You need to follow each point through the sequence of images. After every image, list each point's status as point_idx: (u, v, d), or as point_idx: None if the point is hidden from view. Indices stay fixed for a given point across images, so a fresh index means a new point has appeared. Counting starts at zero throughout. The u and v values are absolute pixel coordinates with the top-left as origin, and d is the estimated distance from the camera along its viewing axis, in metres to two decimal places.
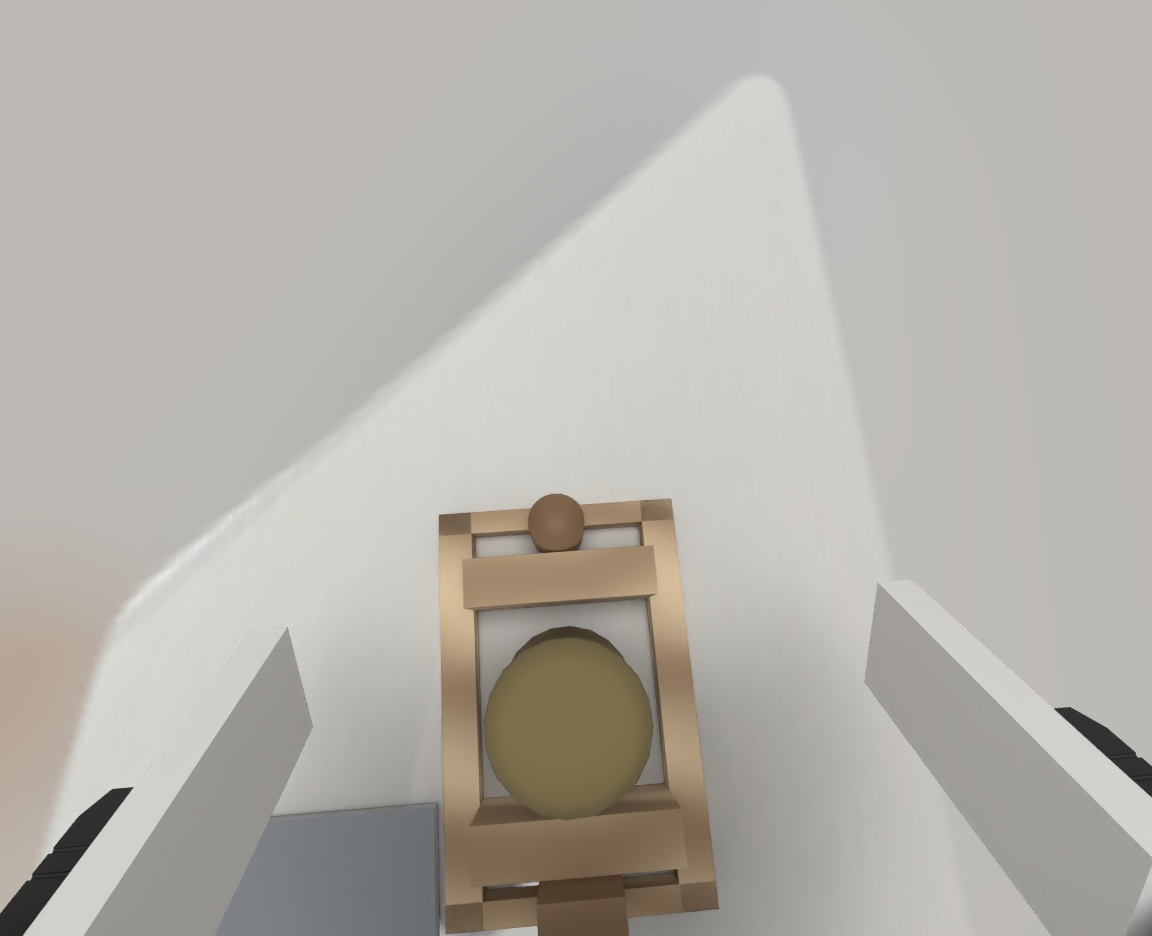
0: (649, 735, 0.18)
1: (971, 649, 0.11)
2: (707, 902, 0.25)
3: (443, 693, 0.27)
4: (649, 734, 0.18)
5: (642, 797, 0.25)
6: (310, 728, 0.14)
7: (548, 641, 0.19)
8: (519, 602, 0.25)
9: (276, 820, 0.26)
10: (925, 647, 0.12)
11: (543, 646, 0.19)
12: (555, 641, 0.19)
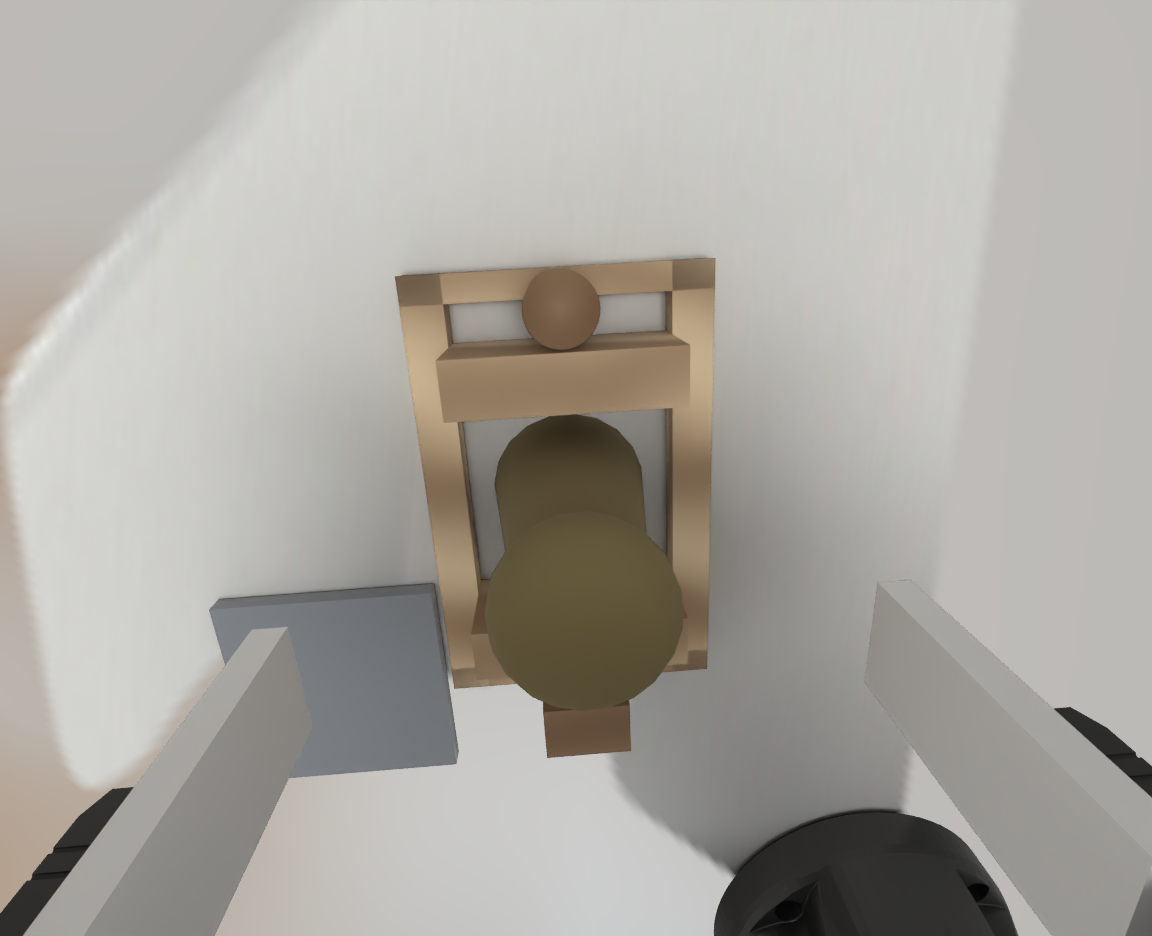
0: (680, 634, 0.16)
1: (971, 649, 0.11)
2: (697, 664, 0.27)
3: (428, 493, 0.23)
4: (680, 634, 0.16)
5: None
6: (310, 728, 0.14)
7: (561, 531, 0.15)
8: (514, 416, 0.20)
9: (268, 603, 0.25)
10: (925, 647, 0.12)
11: (556, 543, 0.15)
12: (570, 533, 0.15)
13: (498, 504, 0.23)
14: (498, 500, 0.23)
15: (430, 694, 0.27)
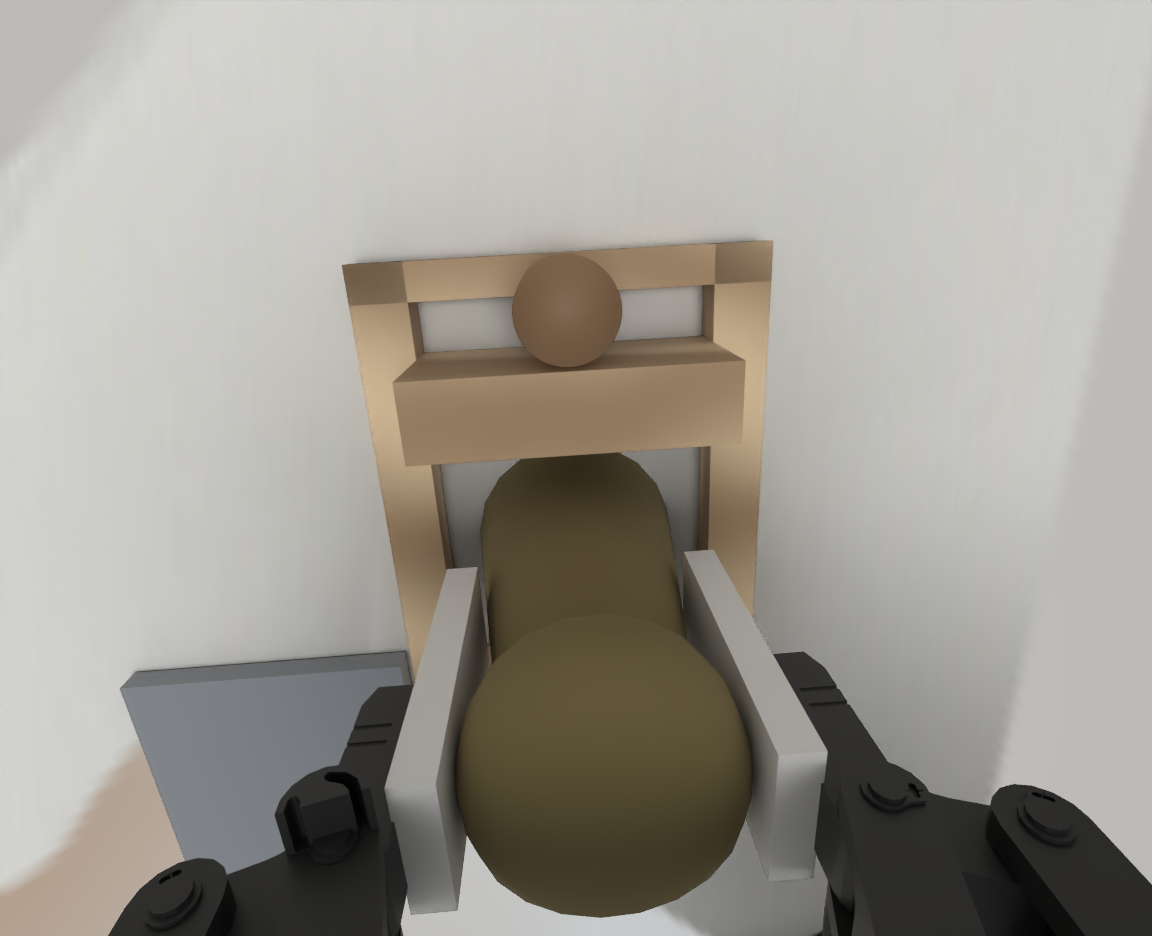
0: (748, 807, 0.10)
1: (730, 604, 0.13)
2: None
3: (393, 546, 0.18)
4: (748, 807, 0.10)
5: None
6: (488, 658, 0.16)
7: (570, 660, 0.10)
8: (502, 457, 0.14)
9: (196, 679, 0.20)
10: (702, 604, 0.14)
11: (562, 682, 0.09)
12: (584, 664, 0.10)
13: (483, 564, 0.17)
14: (483, 558, 0.17)
15: None
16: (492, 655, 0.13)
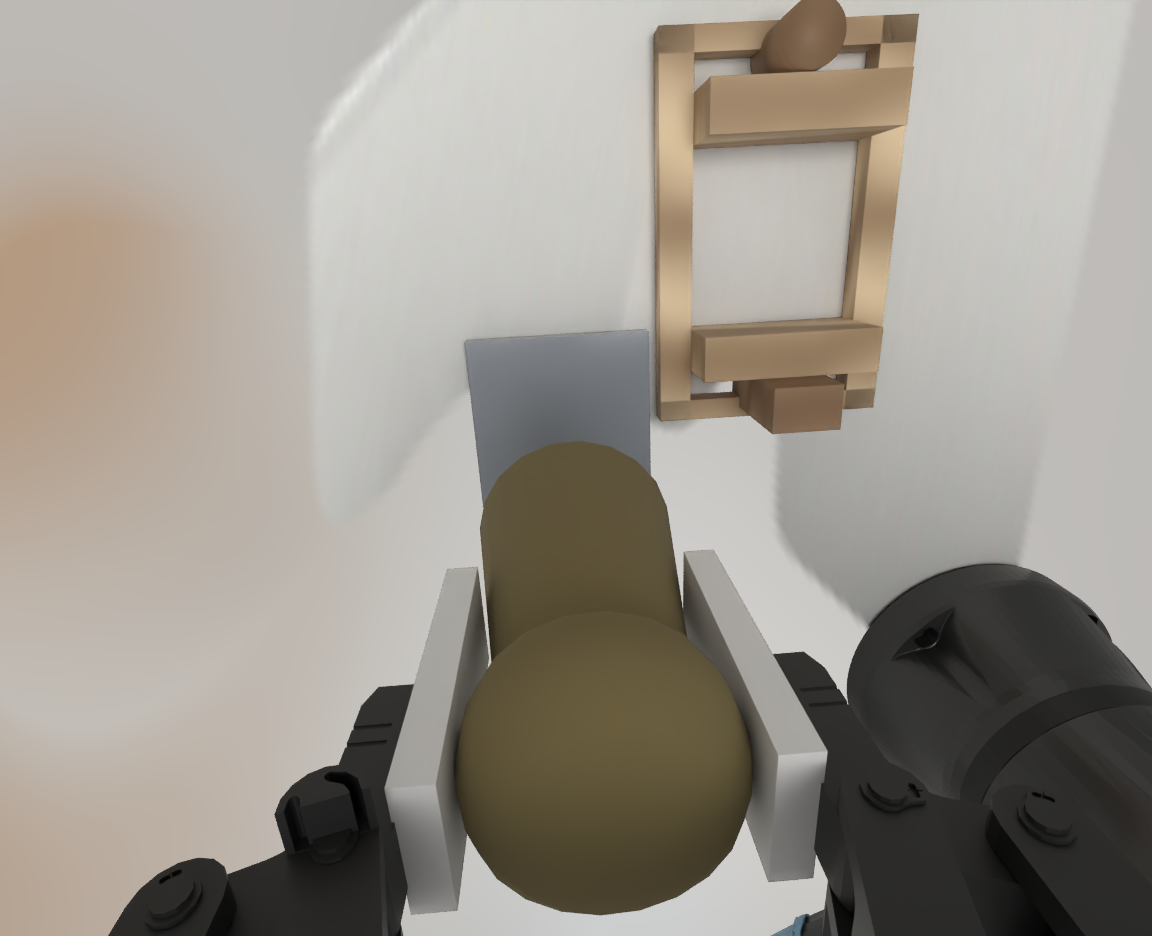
0: (748, 804, 0.10)
1: (730, 604, 0.13)
2: (865, 402, 0.32)
3: (661, 230, 0.28)
4: None
5: (835, 323, 0.29)
6: (487, 658, 0.16)
7: (570, 657, 0.10)
8: (766, 130, 0.24)
9: (513, 339, 0.30)
10: (702, 604, 0.14)
11: (561, 679, 0.09)
12: (584, 661, 0.10)
13: (483, 562, 0.17)
14: (483, 556, 0.17)
15: (637, 430, 0.32)
16: (492, 653, 0.13)
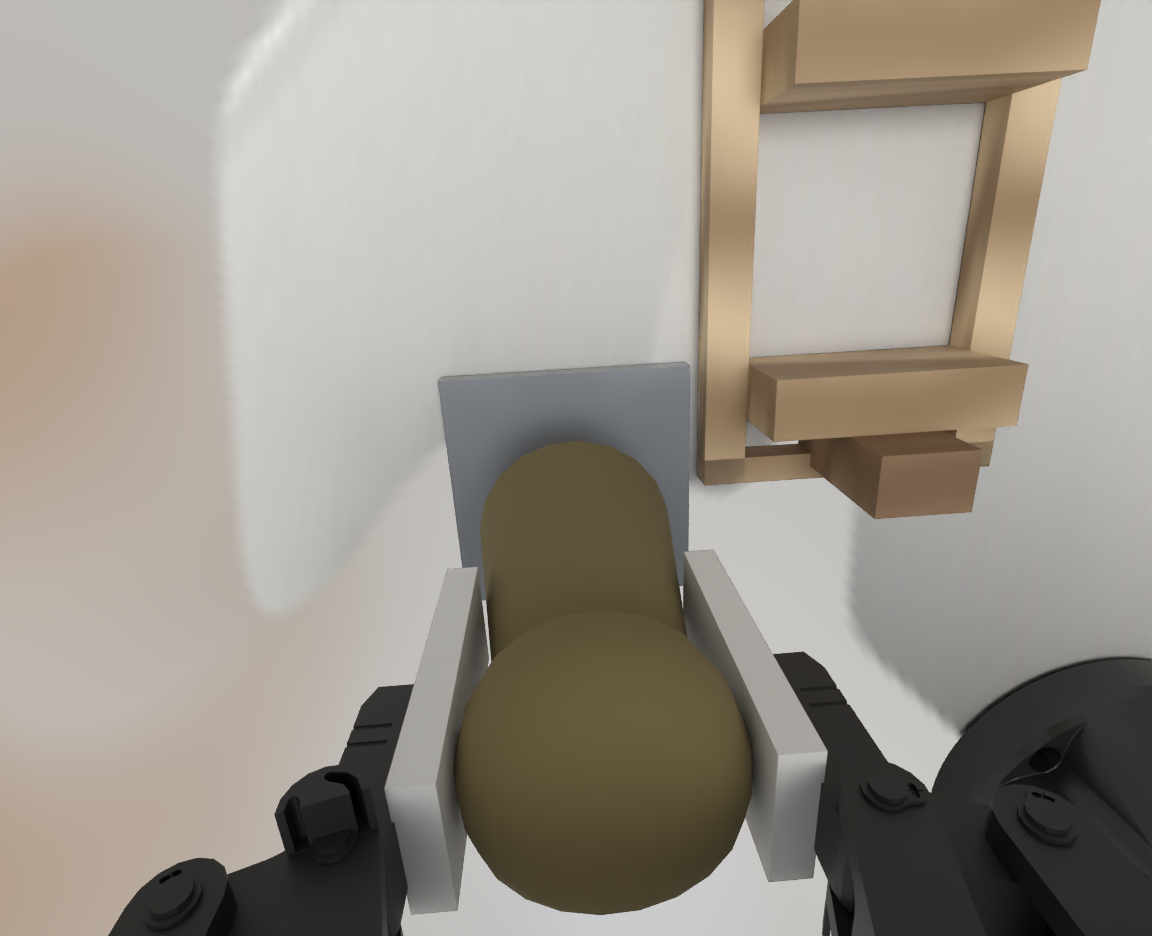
0: (748, 804, 0.10)
1: (730, 604, 0.13)
2: None
3: (711, 228, 0.20)
4: None
5: (949, 356, 0.21)
6: (487, 658, 0.16)
7: (570, 656, 0.10)
8: (879, 76, 0.16)
9: (504, 376, 0.22)
10: (702, 604, 0.14)
11: (561, 679, 0.09)
12: (584, 660, 0.10)
13: (483, 562, 0.17)
14: (483, 556, 0.17)
15: (671, 496, 0.24)
16: (492, 652, 0.13)
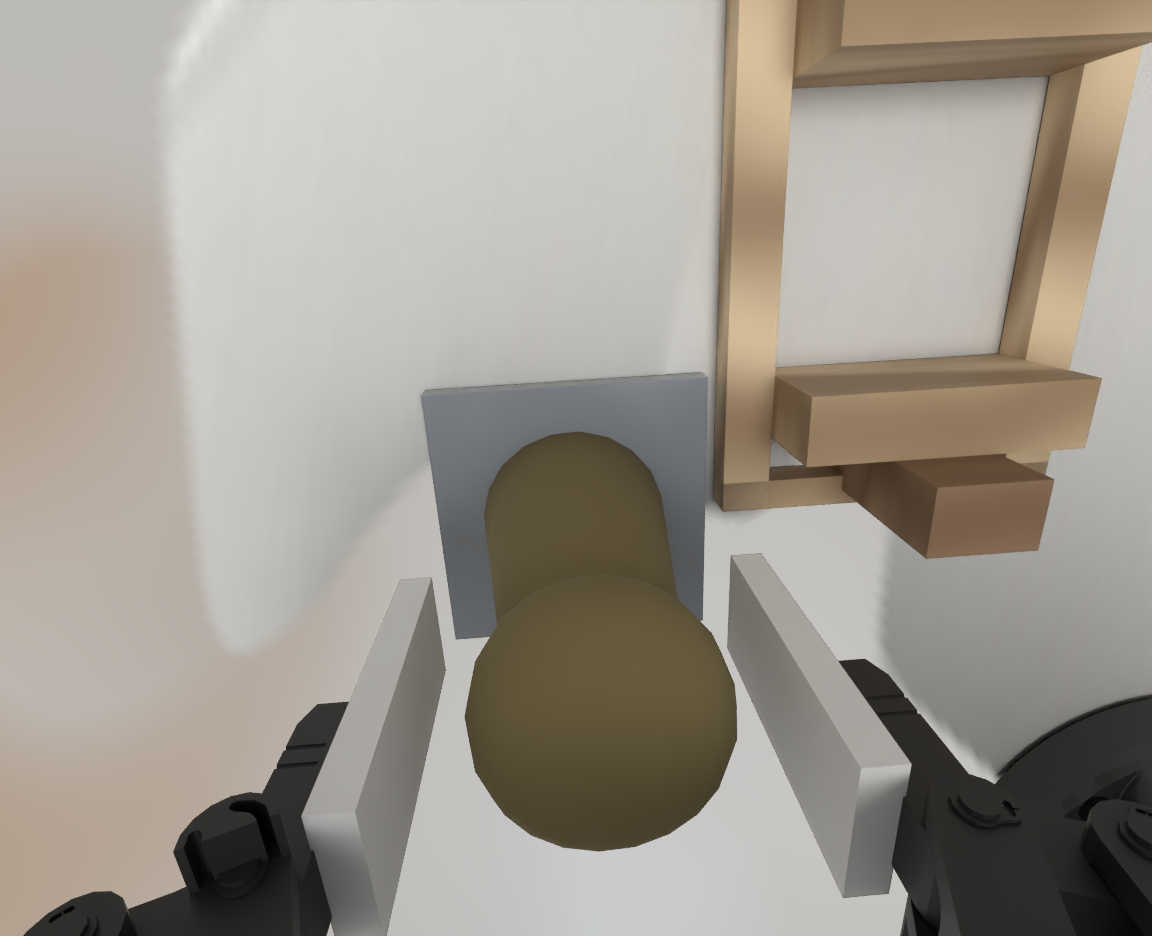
0: None
1: (787, 610, 0.13)
2: None
3: (734, 220, 0.17)
4: None
5: (1004, 367, 0.19)
6: (444, 670, 0.16)
7: (571, 610, 0.11)
8: (941, 38, 0.14)
9: (497, 390, 0.19)
10: (755, 610, 0.13)
11: (564, 628, 0.10)
12: (584, 613, 0.11)
13: (488, 544, 0.18)
14: (488, 539, 0.18)
15: (685, 523, 0.21)
16: (498, 621, 0.14)
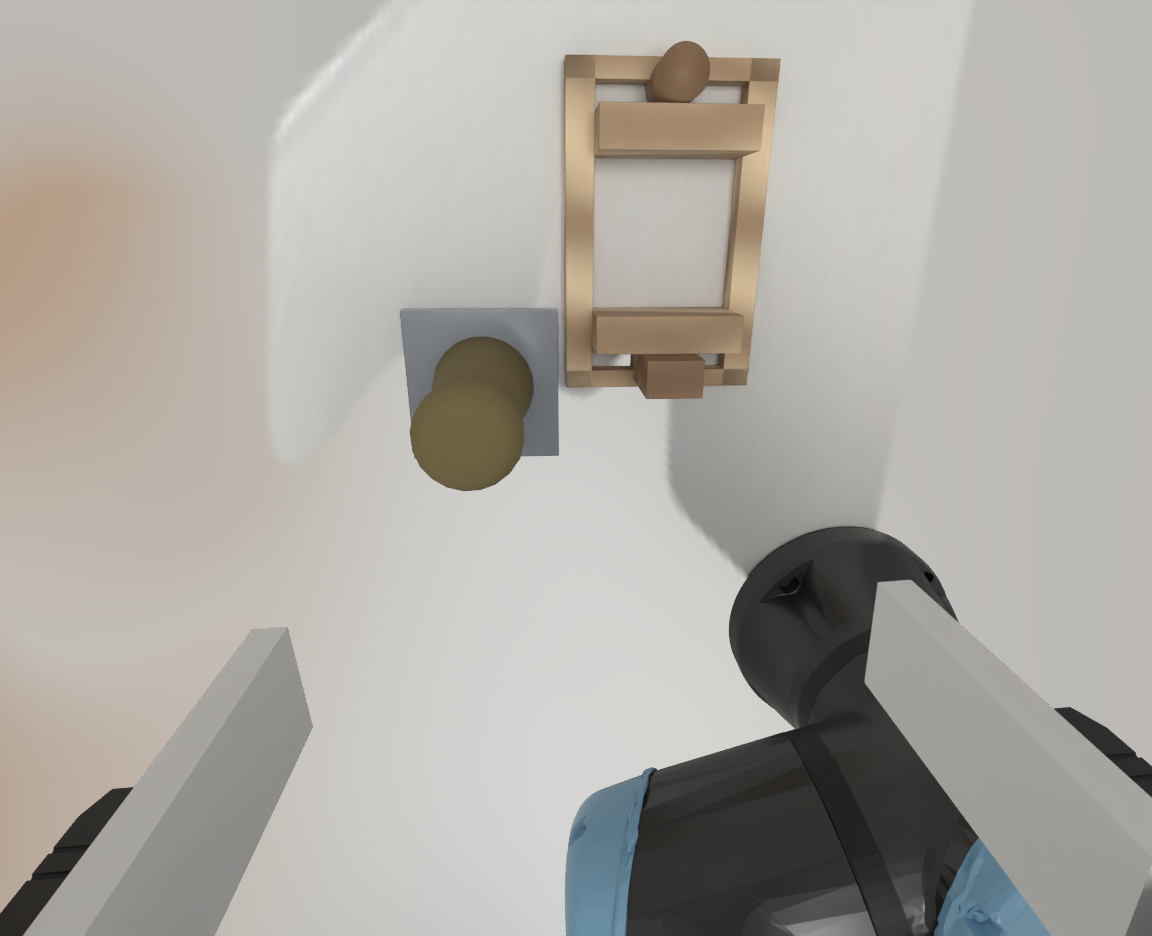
0: (519, 448, 0.28)
1: (971, 649, 0.11)
2: (739, 381, 0.37)
3: (567, 225, 0.34)
4: (519, 448, 0.28)
5: (711, 311, 0.35)
6: (310, 728, 0.14)
7: (453, 384, 0.27)
8: (645, 148, 0.30)
9: (441, 310, 0.35)
10: (925, 647, 0.12)
11: (449, 389, 0.27)
12: (458, 385, 0.27)
13: (432, 390, 0.35)
14: (432, 388, 0.35)
15: (547, 394, 0.37)
16: None
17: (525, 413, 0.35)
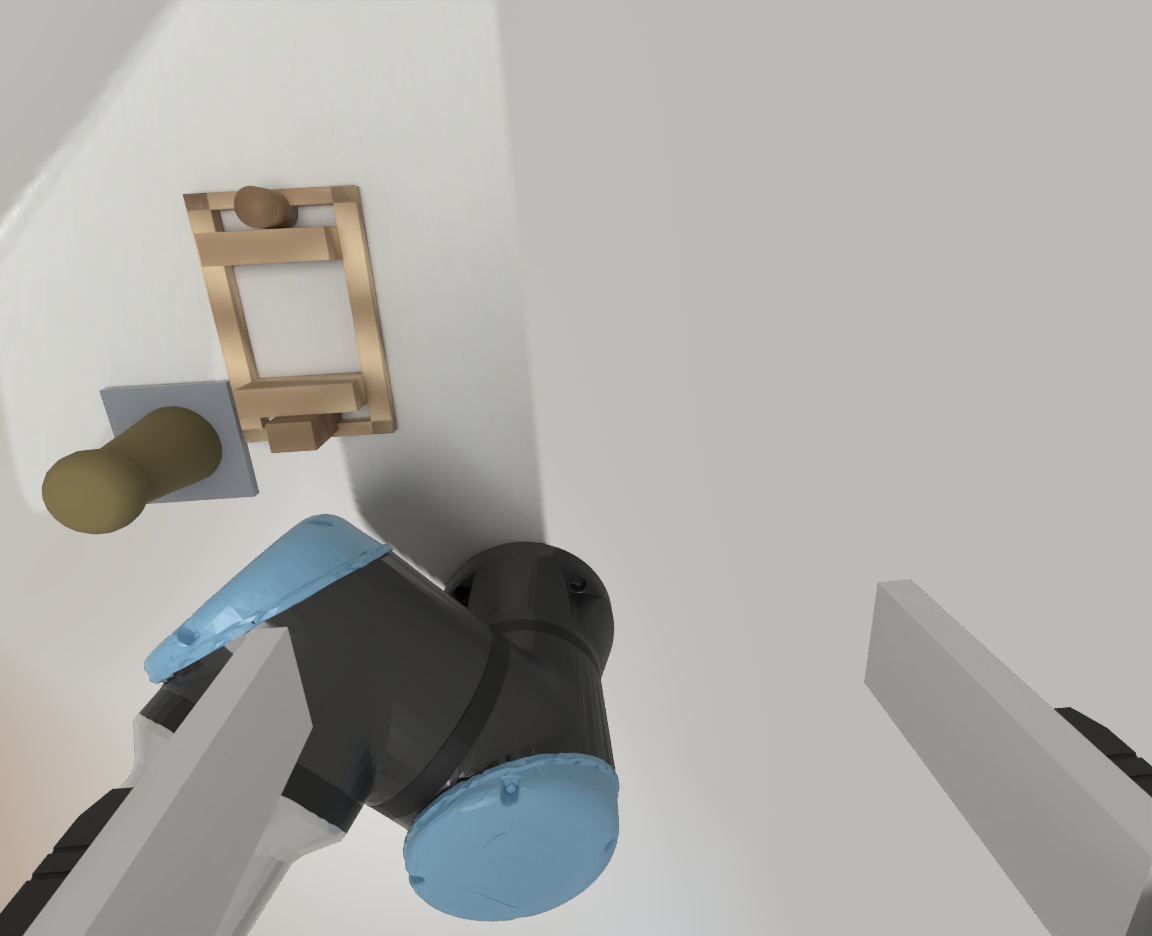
0: (129, 500, 0.37)
1: (971, 649, 0.11)
2: (387, 429, 0.46)
3: (215, 318, 0.43)
4: (128, 500, 0.37)
5: (342, 378, 0.44)
6: (310, 728, 0.14)
7: (70, 455, 0.36)
8: (238, 264, 0.39)
9: (133, 387, 0.45)
10: (925, 647, 0.12)
11: (64, 459, 0.36)
12: (73, 456, 0.36)
13: None
14: None
15: (233, 448, 0.46)
16: None
17: (202, 466, 0.44)
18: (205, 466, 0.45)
